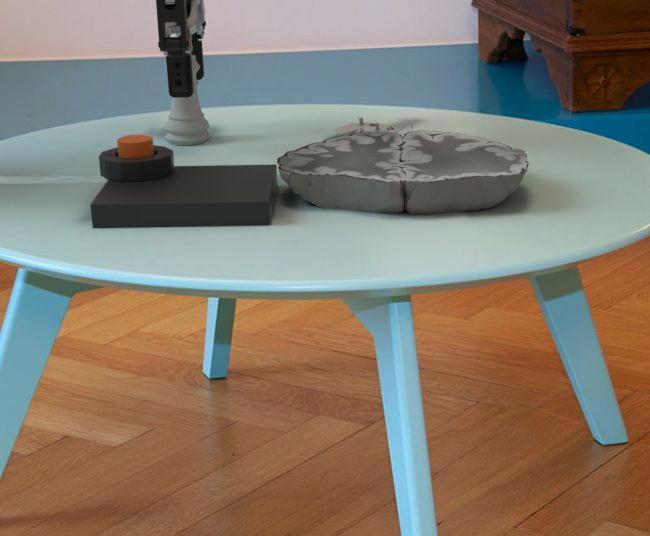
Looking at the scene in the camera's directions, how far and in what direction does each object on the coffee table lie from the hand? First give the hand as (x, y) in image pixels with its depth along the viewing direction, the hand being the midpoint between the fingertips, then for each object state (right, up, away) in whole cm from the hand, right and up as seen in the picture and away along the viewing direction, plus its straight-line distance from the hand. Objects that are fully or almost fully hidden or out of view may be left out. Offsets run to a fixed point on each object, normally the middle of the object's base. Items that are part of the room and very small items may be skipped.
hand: (187, 87), depth 107 cm
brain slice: (+19, -12, -16) cm, 28 cm away
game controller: (+19, -5, 0) cm, 20 cm away
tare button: (-2, -9, -17) cm, 20 cm away
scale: (+3, -13, -20) cm, 24 cm away
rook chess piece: (0, -5, +2) cm, 5 cm away
